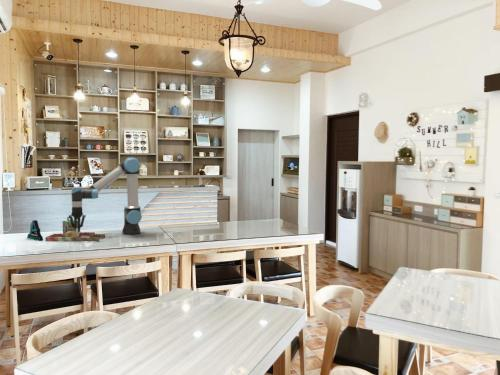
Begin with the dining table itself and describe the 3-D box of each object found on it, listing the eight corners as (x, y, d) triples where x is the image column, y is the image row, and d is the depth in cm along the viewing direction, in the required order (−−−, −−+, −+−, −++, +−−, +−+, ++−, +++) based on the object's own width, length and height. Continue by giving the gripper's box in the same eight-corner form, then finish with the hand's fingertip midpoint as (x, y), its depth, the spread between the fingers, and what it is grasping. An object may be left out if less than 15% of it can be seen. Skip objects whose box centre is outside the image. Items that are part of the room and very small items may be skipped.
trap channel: (107, 236, 344) (107, 232, 344) (98, 241, 322) (98, 237, 322) (57, 235, 343) (57, 232, 343) (45, 241, 321) (45, 237, 321)
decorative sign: (43, 240, 324) (42, 221, 323) (40, 241, 322) (39, 221, 321) (30, 237, 334) (29, 218, 333) (27, 238, 332) (26, 219, 331)
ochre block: (78, 238, 333) (78, 231, 332) (75, 240, 326) (74, 232, 325) (69, 238, 333) (69, 231, 332) (66, 240, 326) (65, 232, 325)
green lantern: (68, 236, 341) (67, 218, 340) (62, 234, 347) (61, 217, 346) (78, 234, 349) (78, 217, 347) (72, 233, 354) (72, 215, 353)
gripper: (66, 207, 323) (67, 237, 325) (83, 207, 323) (84, 237, 325) (70, 205, 330) (71, 235, 332) (87, 206, 331) (87, 235, 333)
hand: (77, 236), depth 329 cm, fingers closed
